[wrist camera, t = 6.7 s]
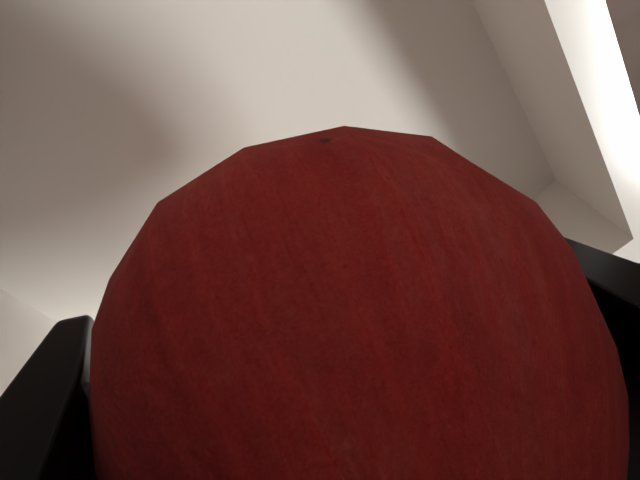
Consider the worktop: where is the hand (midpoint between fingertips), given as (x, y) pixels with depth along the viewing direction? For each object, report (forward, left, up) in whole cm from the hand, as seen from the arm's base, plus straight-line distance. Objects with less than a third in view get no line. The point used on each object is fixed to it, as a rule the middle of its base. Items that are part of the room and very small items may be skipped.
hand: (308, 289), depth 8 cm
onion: (0, 0, -2) cm, 2 cm away
